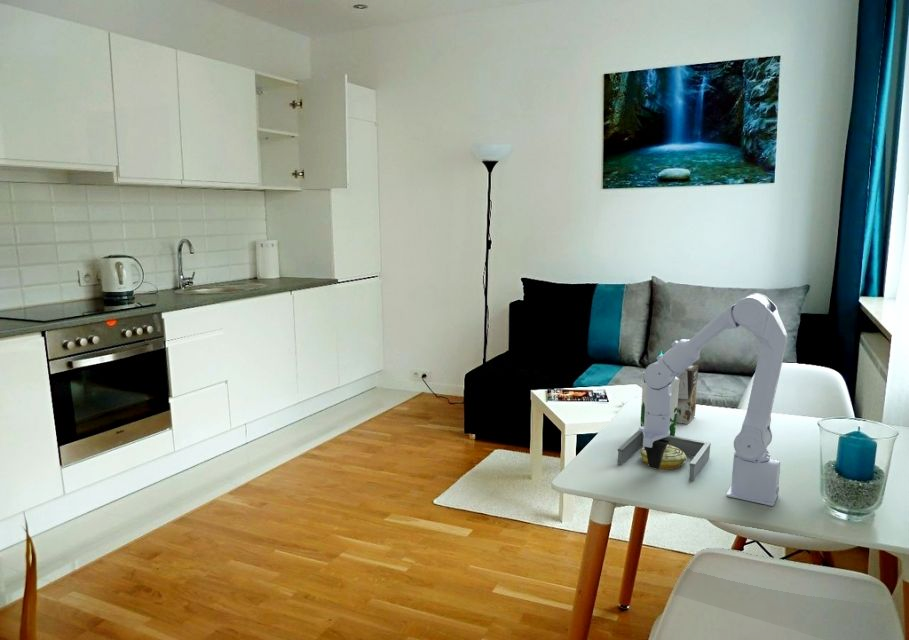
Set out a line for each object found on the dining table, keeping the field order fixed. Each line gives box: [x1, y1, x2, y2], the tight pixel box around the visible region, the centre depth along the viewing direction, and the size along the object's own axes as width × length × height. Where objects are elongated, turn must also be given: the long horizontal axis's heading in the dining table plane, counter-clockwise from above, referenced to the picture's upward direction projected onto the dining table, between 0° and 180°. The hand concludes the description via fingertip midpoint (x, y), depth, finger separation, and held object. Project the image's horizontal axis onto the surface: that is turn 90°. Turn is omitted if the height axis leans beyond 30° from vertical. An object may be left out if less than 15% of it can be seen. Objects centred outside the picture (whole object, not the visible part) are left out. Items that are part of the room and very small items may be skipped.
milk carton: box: [640, 365, 680, 436], centre depth 183 cm, size 9×9×20 cm
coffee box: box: [676, 363, 699, 425], centre depth 201 cm, size 9×6×16 cm
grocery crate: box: [617, 429, 712, 482], centre depth 169 cm, size 18×17×4 cm
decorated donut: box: [640, 445, 688, 470], centre depth 168 cm, size 10×11×4 cm
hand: (654, 467), depth 161 cm, fingers closed
